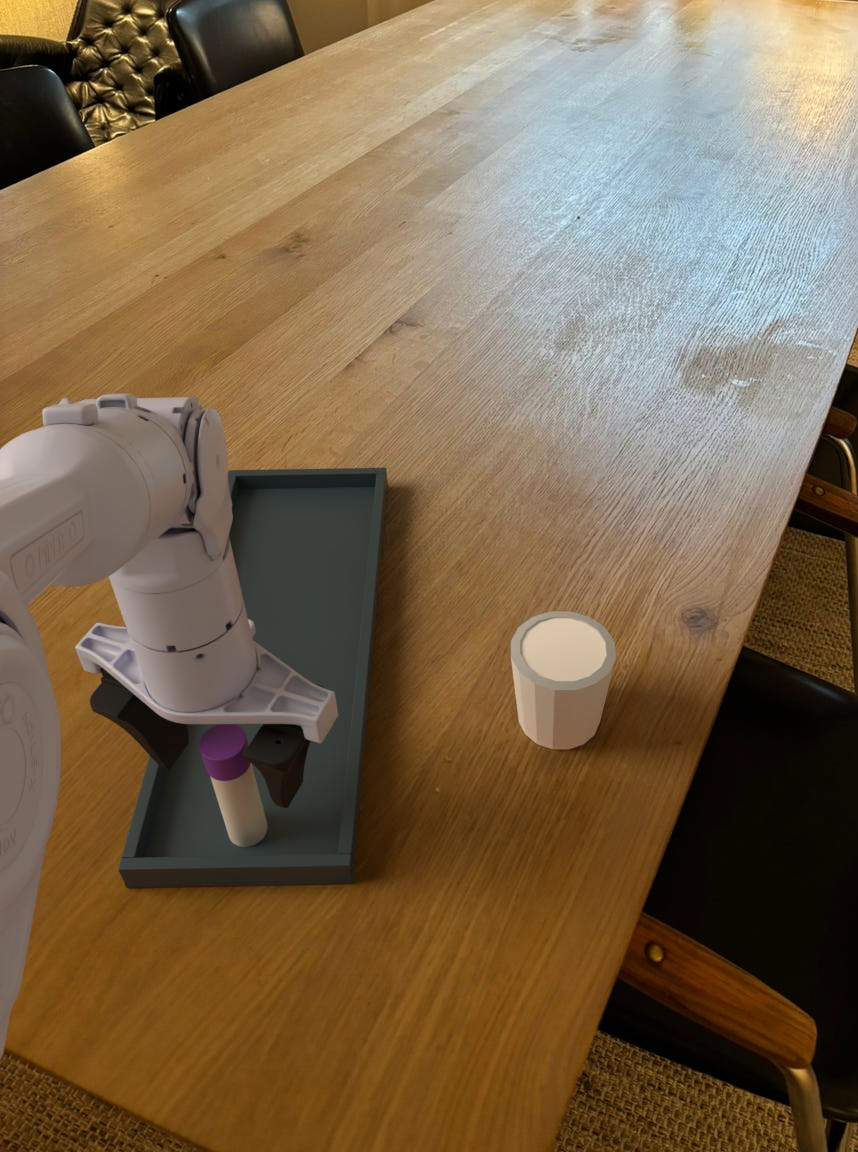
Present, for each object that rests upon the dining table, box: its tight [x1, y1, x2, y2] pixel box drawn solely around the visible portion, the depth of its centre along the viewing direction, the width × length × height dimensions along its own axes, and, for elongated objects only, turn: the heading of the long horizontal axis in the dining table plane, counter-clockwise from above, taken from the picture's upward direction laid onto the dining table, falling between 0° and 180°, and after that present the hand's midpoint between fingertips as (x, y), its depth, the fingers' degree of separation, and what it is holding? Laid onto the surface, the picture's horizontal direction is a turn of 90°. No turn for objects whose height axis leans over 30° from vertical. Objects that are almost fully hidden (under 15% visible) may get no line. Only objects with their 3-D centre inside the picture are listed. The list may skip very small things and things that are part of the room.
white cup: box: [510, 610, 617, 750], centre depth 68 cm, size 7×7×7 cm
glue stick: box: [199, 724, 268, 847], centre depth 61 cm, size 3×3×9 cm
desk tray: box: [117, 467, 389, 889], centre depth 75 cm, size 38×14×2 cm, turn 1°
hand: (231, 773), depth 59 cm, fingers open, 7 cm apart
